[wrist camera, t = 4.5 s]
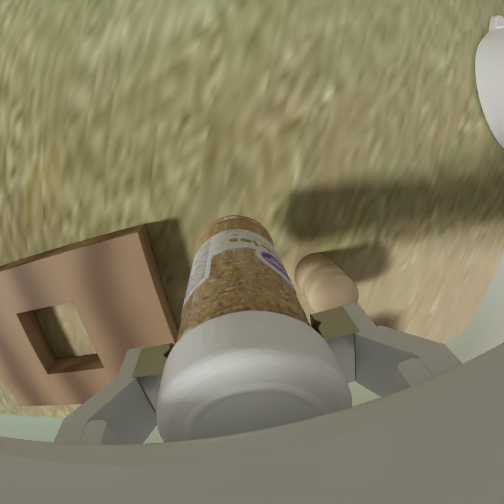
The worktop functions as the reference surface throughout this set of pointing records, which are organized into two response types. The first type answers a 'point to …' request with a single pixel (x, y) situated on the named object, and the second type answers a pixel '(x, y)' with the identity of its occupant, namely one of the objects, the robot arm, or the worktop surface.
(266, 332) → the sprinkles bottle
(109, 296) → the walnut board
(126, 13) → the worktop surface
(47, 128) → the worktop surface
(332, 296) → the short beech dowel
